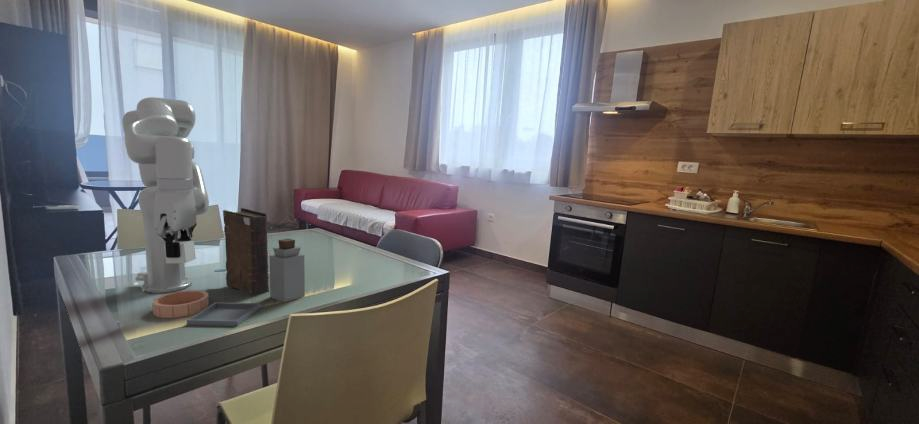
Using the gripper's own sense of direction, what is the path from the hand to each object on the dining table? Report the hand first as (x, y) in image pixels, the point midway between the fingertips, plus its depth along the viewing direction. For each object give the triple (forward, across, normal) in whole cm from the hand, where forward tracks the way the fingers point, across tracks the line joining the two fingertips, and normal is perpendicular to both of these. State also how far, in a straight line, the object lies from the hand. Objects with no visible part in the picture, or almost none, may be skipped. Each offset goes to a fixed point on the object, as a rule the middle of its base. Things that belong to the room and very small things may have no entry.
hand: (179, 254), depth 103 cm
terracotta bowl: (+16, 0, 0) cm, 16 cm away
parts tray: (+16, +4, +13) cm, 21 cm away
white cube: (+2, 0, 0) cm, 2 cm away
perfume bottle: (+16, -11, +23) cm, 30 cm away
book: (+16, -18, +8) cm, 26 cm away
